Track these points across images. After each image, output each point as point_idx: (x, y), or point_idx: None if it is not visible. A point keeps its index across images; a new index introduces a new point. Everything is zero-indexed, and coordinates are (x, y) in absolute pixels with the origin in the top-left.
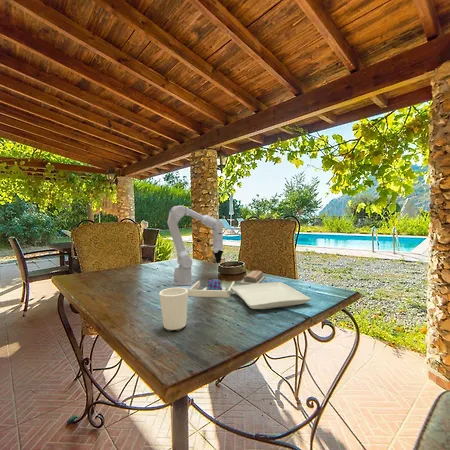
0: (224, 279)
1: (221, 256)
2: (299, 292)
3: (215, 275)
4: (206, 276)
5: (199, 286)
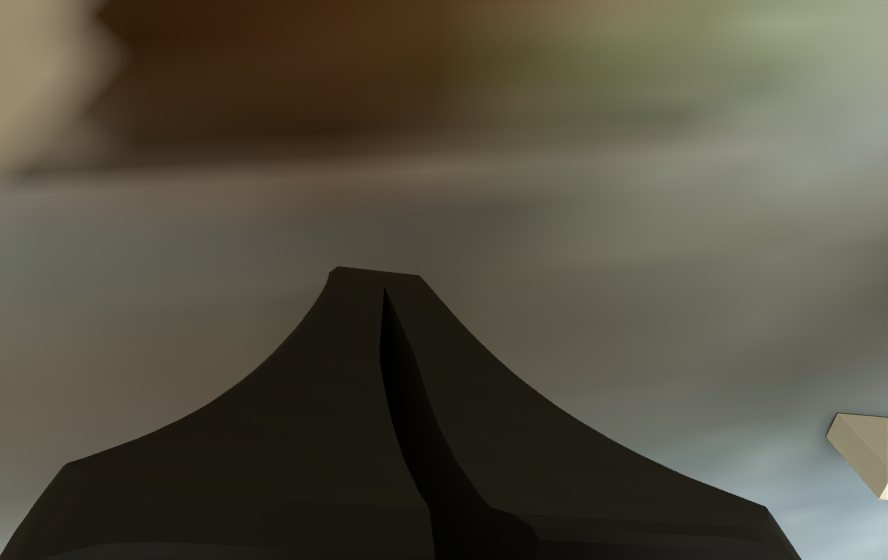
0: (453, 5)
1: (315, 371)
2: None
3: (56, 240)
4: (167, 407)
5: (874, 420)
